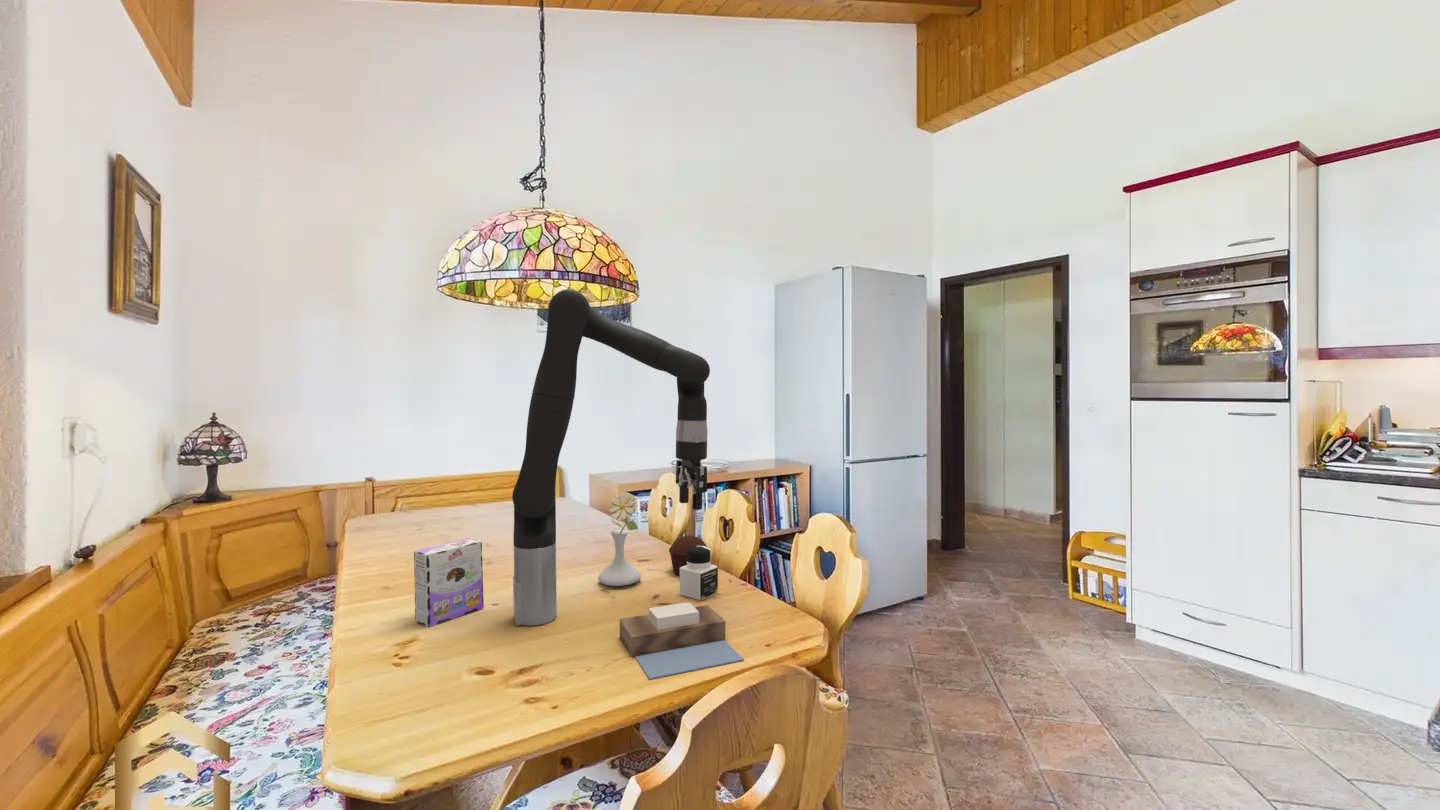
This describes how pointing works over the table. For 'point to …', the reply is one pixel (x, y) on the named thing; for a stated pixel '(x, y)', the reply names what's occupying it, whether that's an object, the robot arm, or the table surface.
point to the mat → (687, 659)
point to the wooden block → (670, 633)
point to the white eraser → (673, 616)
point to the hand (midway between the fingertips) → (690, 506)
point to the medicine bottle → (698, 574)
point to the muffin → (682, 551)
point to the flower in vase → (621, 543)
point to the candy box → (448, 581)
